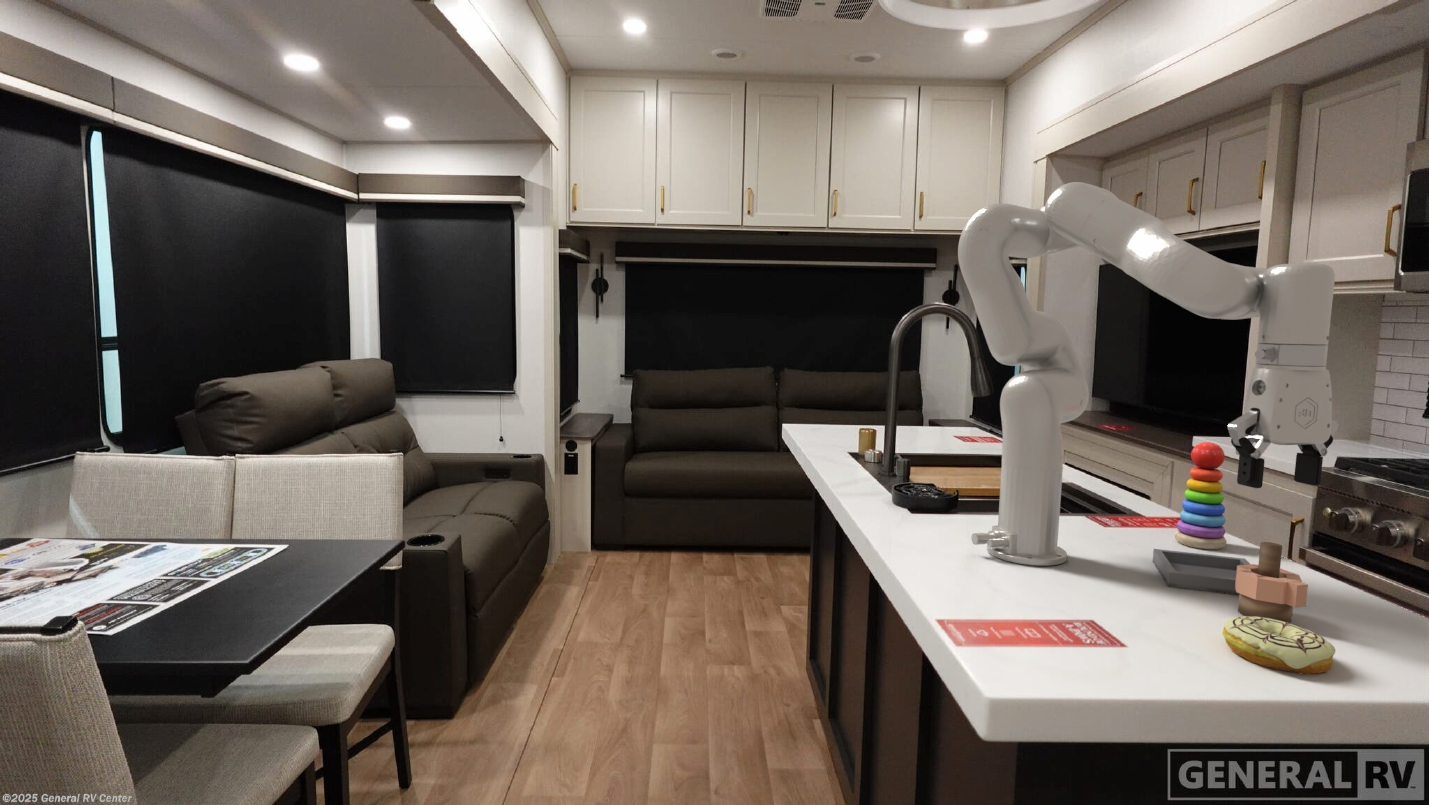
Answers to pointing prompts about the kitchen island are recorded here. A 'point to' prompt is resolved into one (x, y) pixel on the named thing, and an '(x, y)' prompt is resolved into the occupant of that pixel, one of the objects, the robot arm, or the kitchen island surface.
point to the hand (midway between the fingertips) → (1278, 484)
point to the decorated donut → (1278, 644)
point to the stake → (1268, 568)
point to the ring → (1271, 586)
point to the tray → (1198, 570)
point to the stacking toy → (1203, 501)
